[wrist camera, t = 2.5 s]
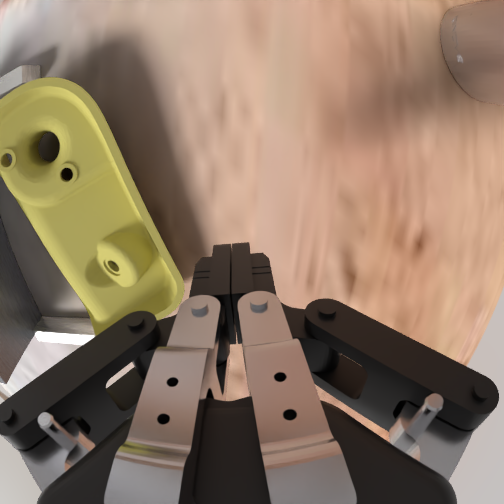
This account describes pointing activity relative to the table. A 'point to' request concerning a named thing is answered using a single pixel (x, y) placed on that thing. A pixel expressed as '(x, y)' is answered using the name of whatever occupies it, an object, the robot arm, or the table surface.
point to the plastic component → (85, 203)
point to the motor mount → (16, 291)
